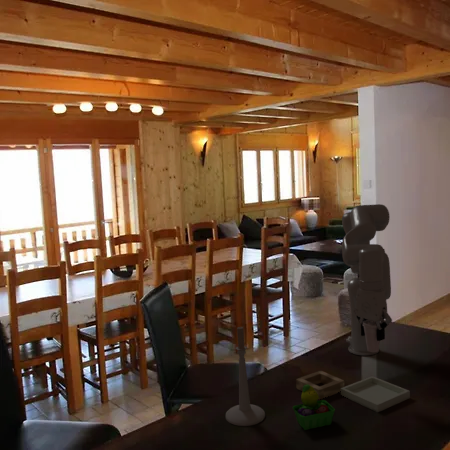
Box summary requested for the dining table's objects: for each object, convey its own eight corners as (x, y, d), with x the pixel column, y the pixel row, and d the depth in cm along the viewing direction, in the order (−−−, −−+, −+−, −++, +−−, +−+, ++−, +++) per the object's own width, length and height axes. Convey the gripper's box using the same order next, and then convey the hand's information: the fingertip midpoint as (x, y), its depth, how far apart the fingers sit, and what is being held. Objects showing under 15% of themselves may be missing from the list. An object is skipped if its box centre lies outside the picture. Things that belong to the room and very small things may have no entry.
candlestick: (262, 426, 153) (257, 332, 150) (222, 425, 156) (216, 332, 153) (267, 407, 166) (262, 320, 163) (229, 406, 168) (224, 320, 165)
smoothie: (361, 352, 166) (360, 311, 164) (365, 346, 171) (364, 306, 170) (381, 354, 163) (380, 313, 161) (384, 348, 168) (383, 308, 167)
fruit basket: (302, 433, 148) (300, 397, 147) (290, 419, 157) (289, 385, 156) (336, 426, 151) (335, 390, 150) (323, 413, 160) (322, 379, 158)
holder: (296, 388, 179) (296, 379, 178) (321, 379, 185) (320, 370, 185) (319, 400, 169) (319, 390, 168) (344, 390, 175) (344, 380, 175)
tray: (340, 395, 171) (340, 388, 171) (372, 382, 180) (372, 376, 179) (377, 412, 158) (377, 405, 157) (409, 397, 166) (409, 390, 166)
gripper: (344, 283, 170) (345, 333, 172) (384, 291, 156) (386, 346, 157) (359, 279, 174) (360, 329, 176) (400, 287, 160) (401, 341, 161)
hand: (372, 337), depth 167 cm, fingers closed on smoothie, 6 cm apart
